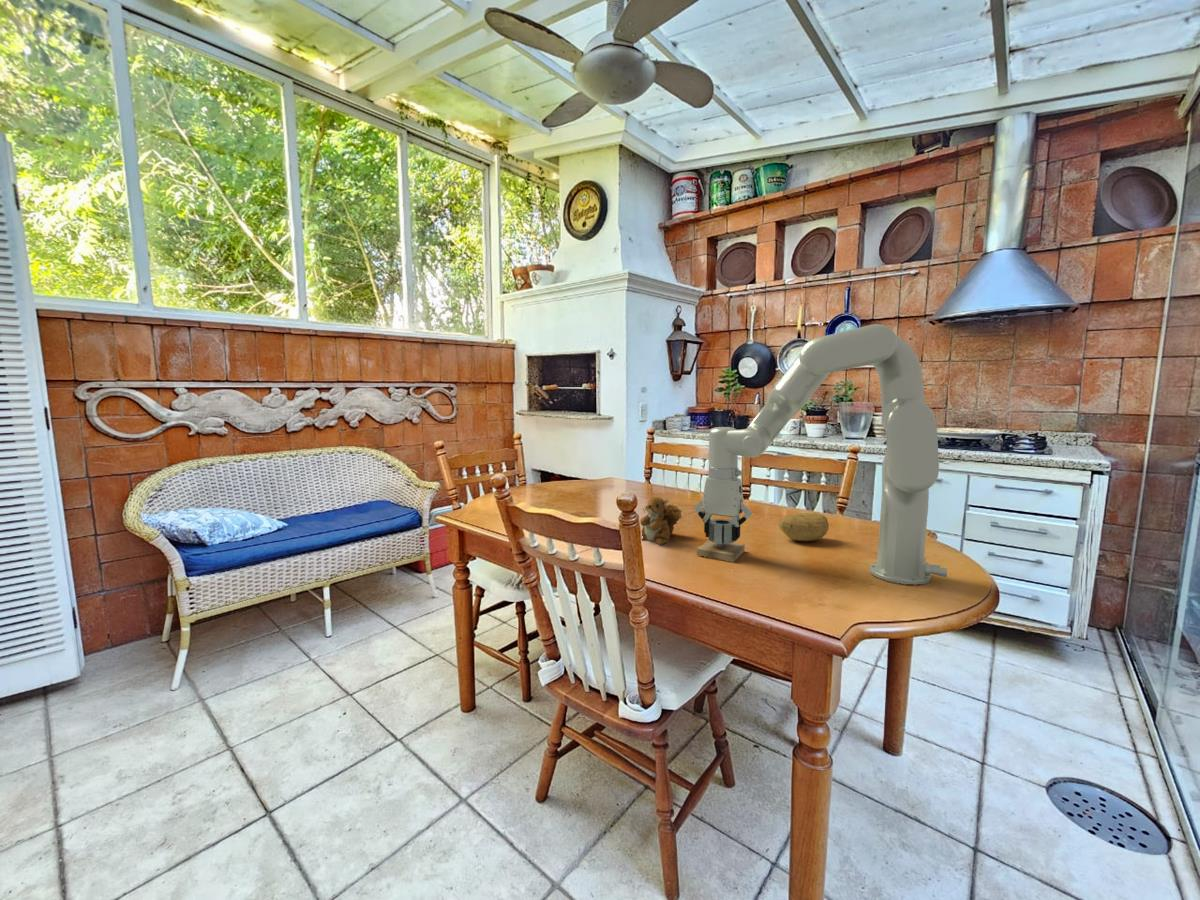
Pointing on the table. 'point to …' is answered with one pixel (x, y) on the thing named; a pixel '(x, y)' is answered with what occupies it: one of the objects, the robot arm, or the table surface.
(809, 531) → the potato
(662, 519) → the stuffed squirrel
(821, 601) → the table surface
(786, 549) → the table surface
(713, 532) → the hub
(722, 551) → the shaft stand
